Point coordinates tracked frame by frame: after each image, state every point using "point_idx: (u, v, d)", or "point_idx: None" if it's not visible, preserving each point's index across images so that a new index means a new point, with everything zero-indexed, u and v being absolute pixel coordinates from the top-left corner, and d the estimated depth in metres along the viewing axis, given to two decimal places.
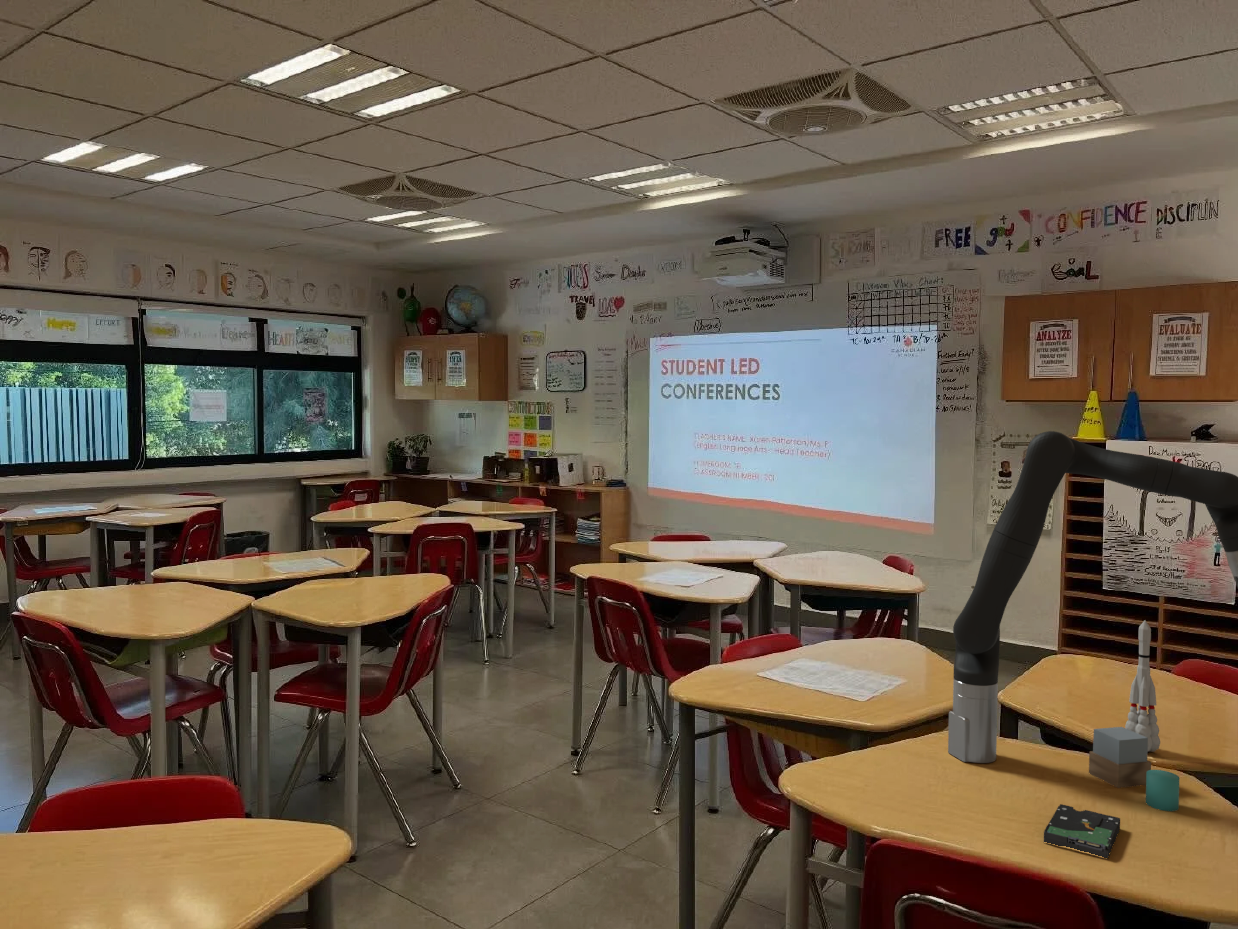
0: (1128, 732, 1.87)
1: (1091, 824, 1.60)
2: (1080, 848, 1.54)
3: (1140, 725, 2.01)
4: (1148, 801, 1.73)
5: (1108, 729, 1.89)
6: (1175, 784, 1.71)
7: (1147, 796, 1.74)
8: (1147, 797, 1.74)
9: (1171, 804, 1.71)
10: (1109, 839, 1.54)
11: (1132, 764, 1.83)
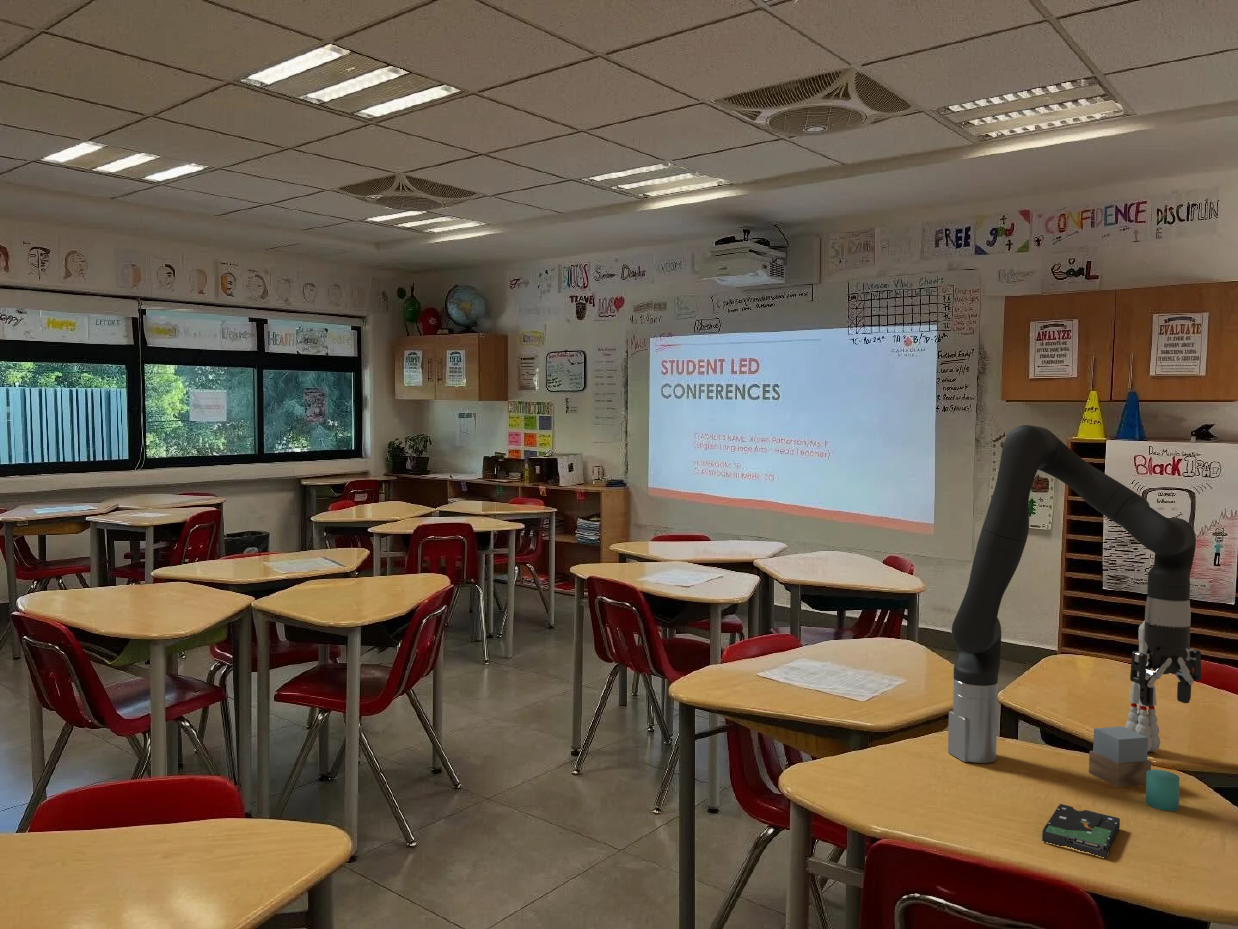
0: (1129, 731, 1.87)
1: (1090, 824, 1.60)
2: (1079, 847, 1.54)
3: (1140, 725, 2.01)
4: (1148, 801, 1.73)
5: (1108, 729, 1.89)
6: (1175, 784, 1.71)
7: (1147, 796, 1.74)
8: (1147, 797, 1.74)
9: (1171, 804, 1.71)
10: (1107, 839, 1.54)
11: (1132, 763, 1.83)
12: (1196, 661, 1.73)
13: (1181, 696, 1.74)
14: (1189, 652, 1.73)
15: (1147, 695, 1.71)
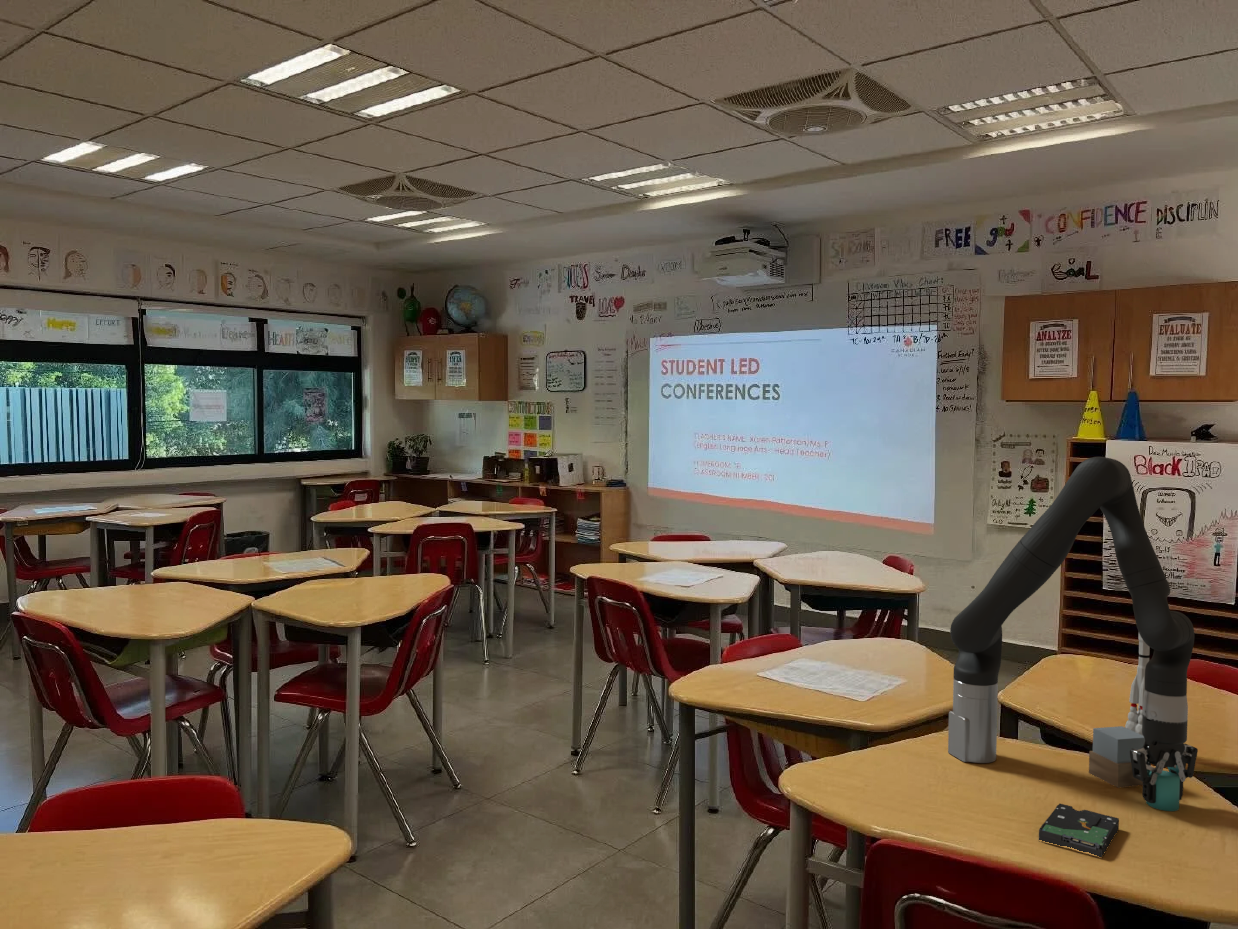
0: (1128, 731, 1.87)
1: (1088, 823, 1.61)
2: (1075, 846, 1.54)
3: (1140, 725, 2.01)
4: None
5: (1107, 728, 1.89)
6: (1176, 784, 1.71)
7: None
8: None
9: (1171, 804, 1.71)
10: (1104, 838, 1.55)
11: None
12: (1192, 757, 1.73)
13: None
14: (1186, 747, 1.74)
15: (1150, 792, 1.72)
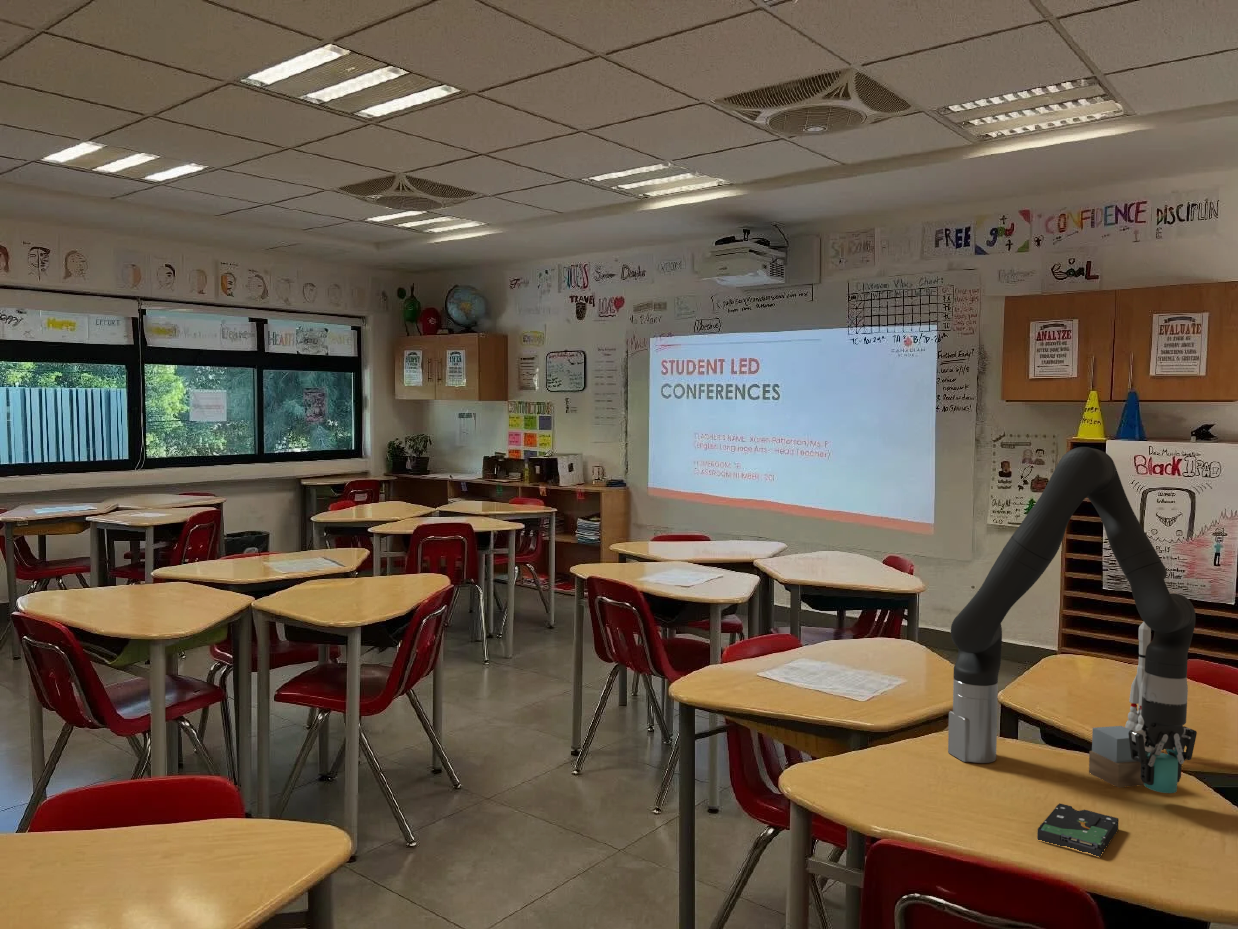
0: (1127, 731, 1.88)
1: (1088, 823, 1.61)
2: (1073, 846, 1.54)
3: (1140, 725, 2.01)
4: None
5: (1107, 728, 1.89)
6: (1174, 766, 1.71)
7: None
8: None
9: (1169, 786, 1.71)
10: (1103, 838, 1.55)
11: (1132, 763, 1.83)
12: (1190, 740, 1.73)
13: None
14: (1185, 730, 1.74)
15: (1148, 774, 1.72)
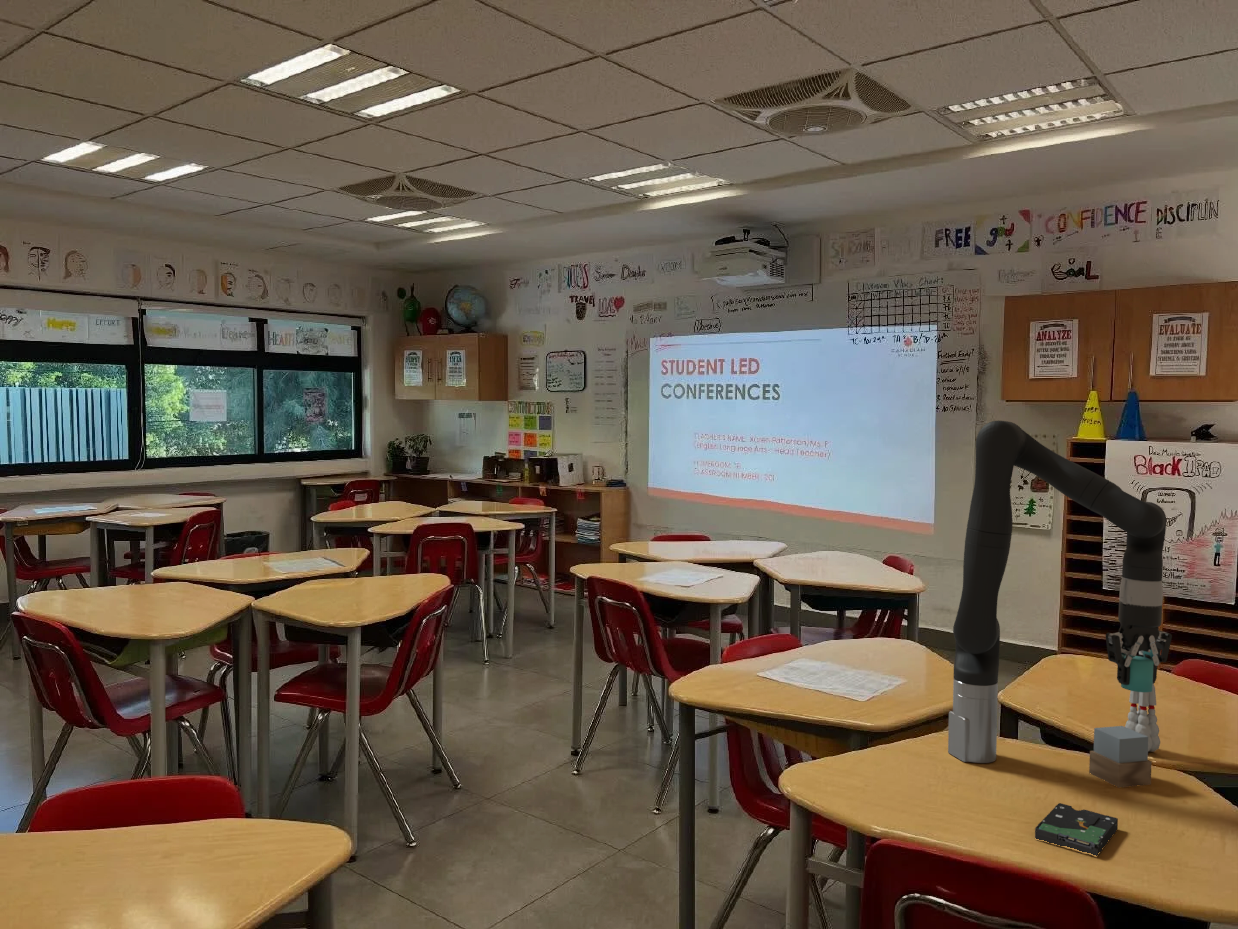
0: (1129, 731, 1.88)
1: (1086, 823, 1.61)
2: (1070, 845, 1.55)
3: (1140, 725, 2.01)
4: None
5: (1108, 728, 1.89)
6: (1149, 666, 1.78)
7: None
8: None
9: (1145, 685, 1.78)
10: (1100, 838, 1.55)
11: (1132, 763, 1.83)
12: (1166, 642, 1.80)
13: None
14: (1161, 633, 1.81)
15: (1124, 674, 1.79)
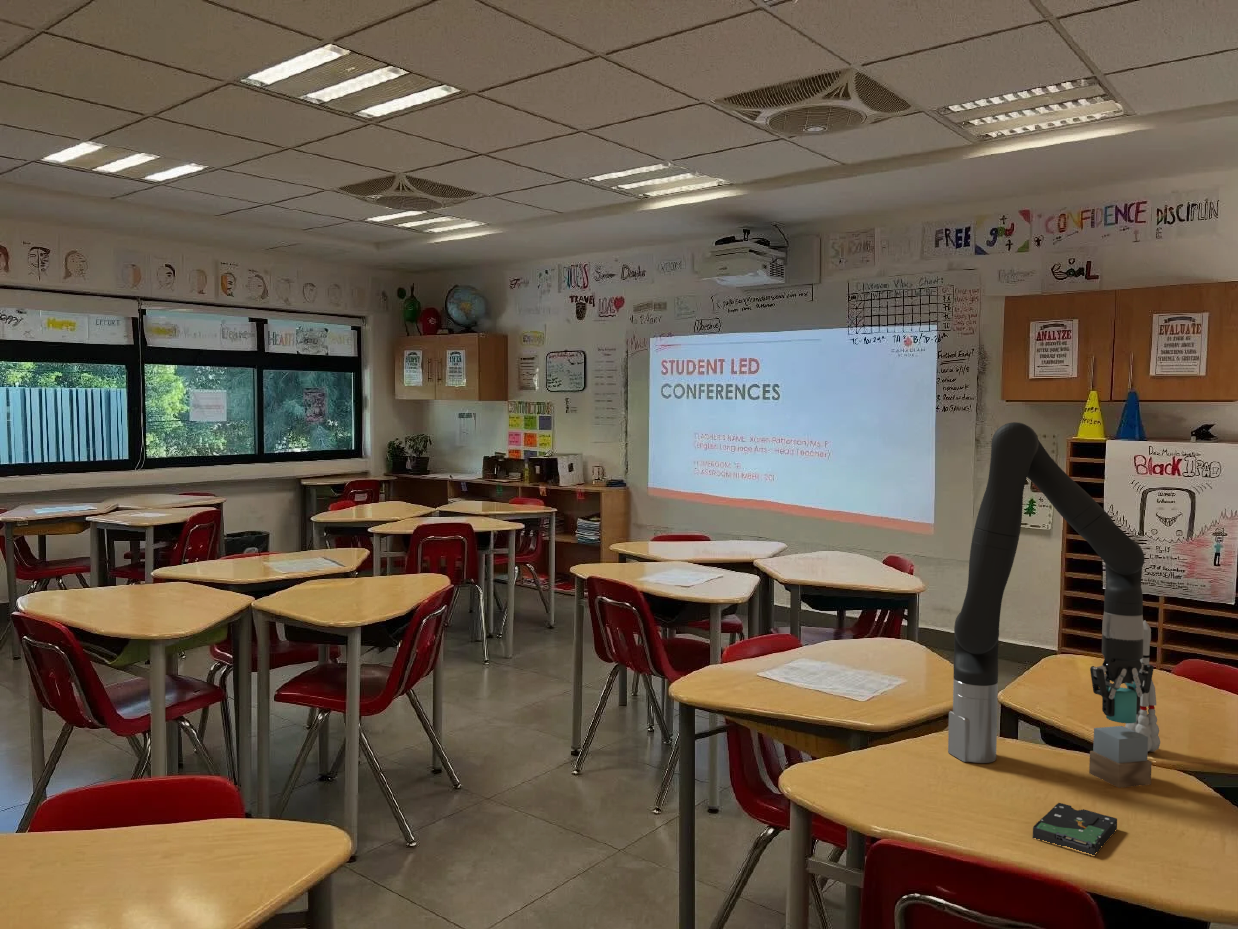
0: (1129, 731, 1.87)
1: (1085, 822, 1.61)
2: (1068, 844, 1.55)
3: (1140, 725, 2.01)
4: None
5: (1108, 728, 1.89)
6: (1133, 698, 1.83)
7: None
8: None
9: (1129, 717, 1.83)
10: (1098, 837, 1.55)
11: (1133, 763, 1.83)
12: (1148, 674, 1.86)
13: None
14: (1143, 665, 1.86)
15: (1109, 706, 1.85)
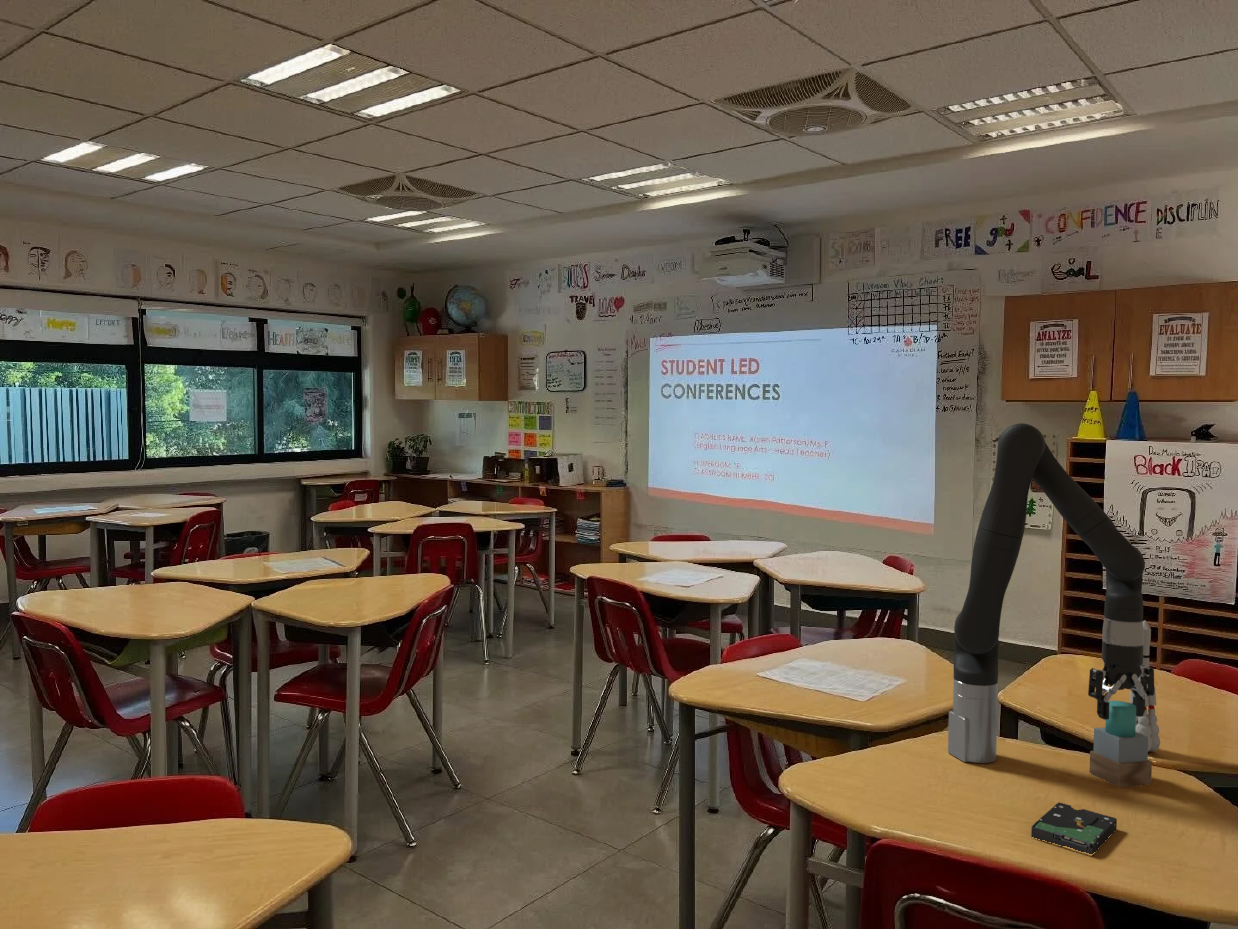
0: None
1: (1084, 822, 1.61)
2: (1066, 844, 1.55)
3: (1140, 725, 2.01)
4: (1107, 729, 1.86)
5: None
6: (1132, 712, 1.84)
7: (1106, 724, 1.87)
8: (1106, 725, 1.87)
9: (1128, 731, 1.84)
10: (1097, 837, 1.55)
11: (1133, 764, 1.83)
12: (1149, 677, 1.86)
13: (1136, 710, 1.87)
14: (1143, 669, 1.86)
15: (1104, 709, 1.84)
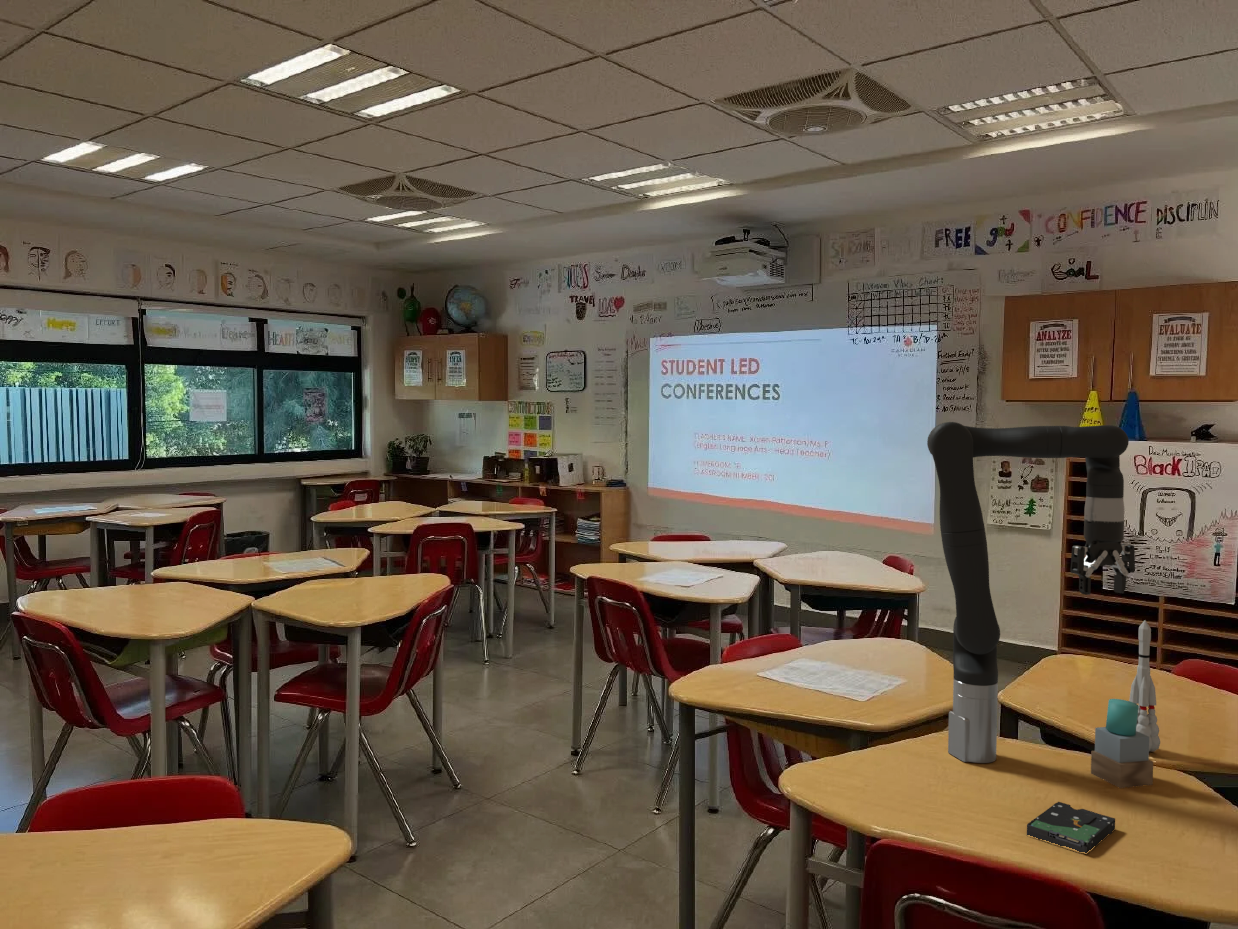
0: None
1: (1081, 821, 1.61)
2: (1061, 842, 1.56)
3: (1140, 725, 2.01)
4: (1108, 726, 1.86)
5: None
6: (1135, 711, 1.84)
7: (1107, 722, 1.87)
8: (1107, 723, 1.87)
9: (1129, 729, 1.84)
10: (1092, 836, 1.55)
11: (1134, 764, 1.82)
12: (1130, 554, 1.91)
13: (1117, 587, 1.92)
14: (1124, 547, 1.91)
15: (1085, 584, 1.89)
